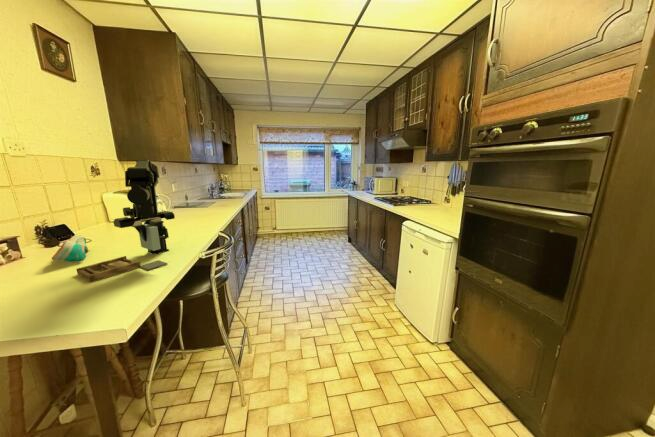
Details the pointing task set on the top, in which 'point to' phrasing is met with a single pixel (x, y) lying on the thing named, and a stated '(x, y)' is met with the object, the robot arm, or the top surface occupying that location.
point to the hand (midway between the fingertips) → (149, 240)
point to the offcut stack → (117, 264)
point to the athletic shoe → (72, 250)
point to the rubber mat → (153, 265)
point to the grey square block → (151, 238)
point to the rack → (106, 269)
